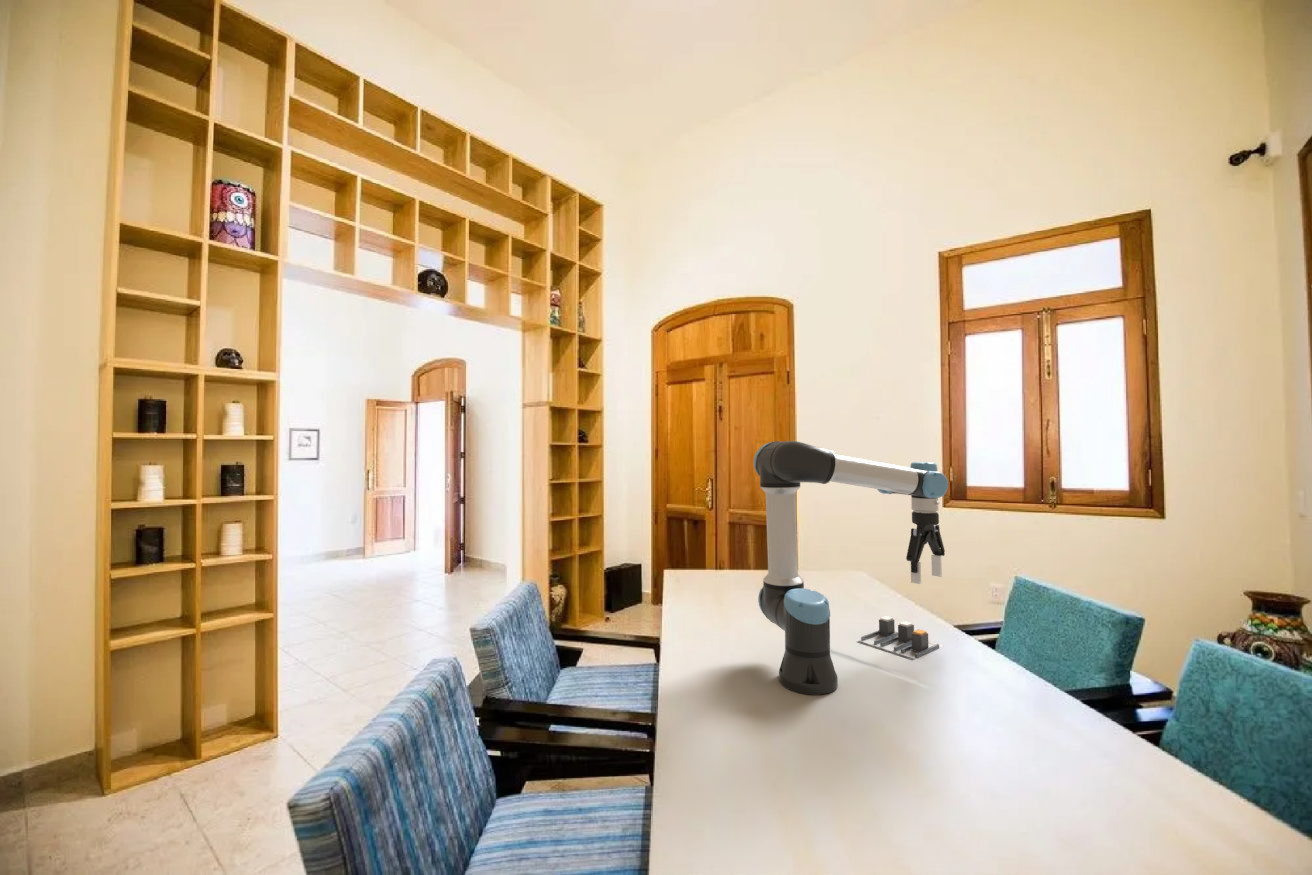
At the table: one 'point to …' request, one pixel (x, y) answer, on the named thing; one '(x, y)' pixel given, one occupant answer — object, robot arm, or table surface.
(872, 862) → the table surface
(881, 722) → the table surface
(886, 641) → the panel
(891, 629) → the breaker
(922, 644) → the block
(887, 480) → the robot arm
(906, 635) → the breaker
